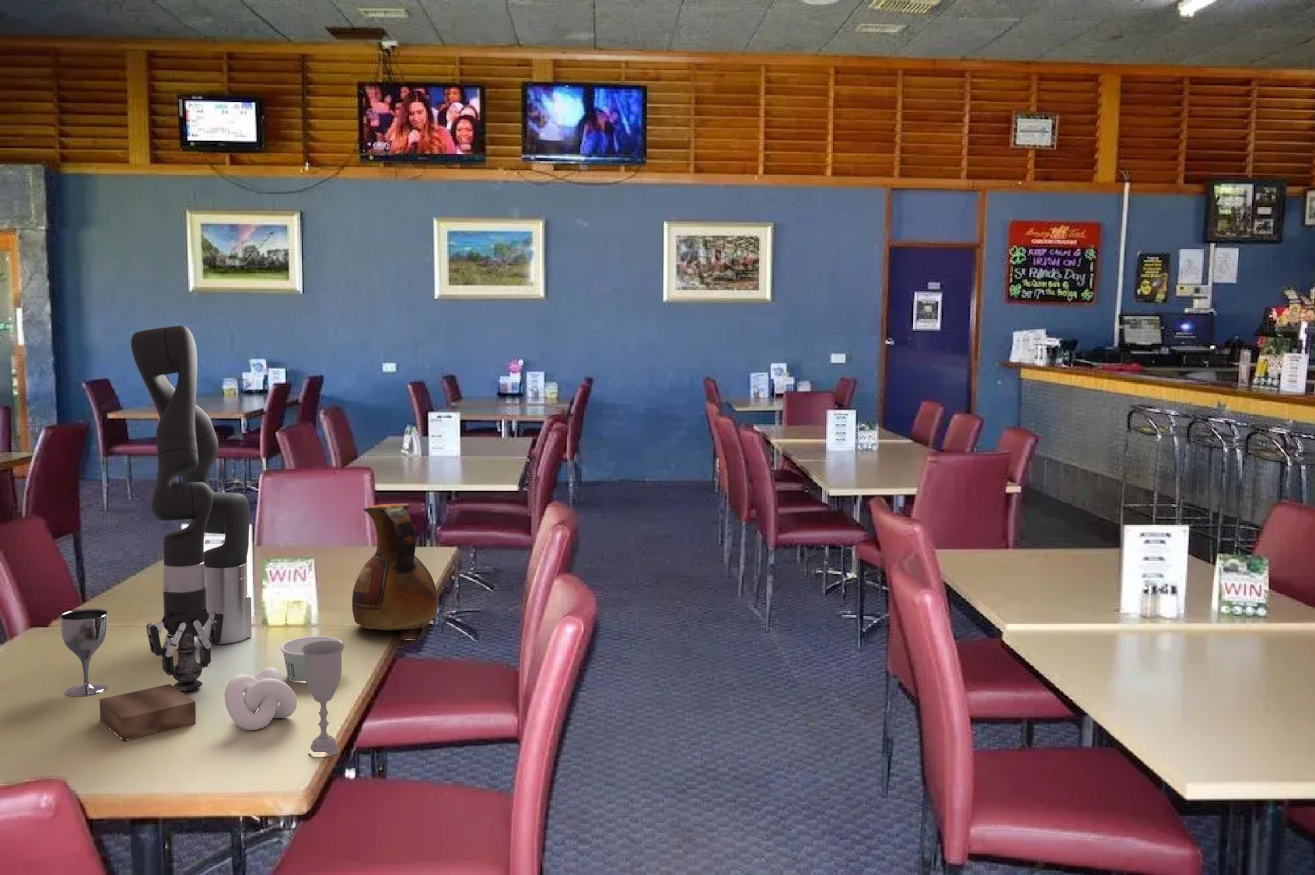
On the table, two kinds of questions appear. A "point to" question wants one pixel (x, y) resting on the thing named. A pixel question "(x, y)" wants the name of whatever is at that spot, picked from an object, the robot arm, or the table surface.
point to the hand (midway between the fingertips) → (187, 670)
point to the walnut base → (147, 711)
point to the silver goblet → (84, 643)
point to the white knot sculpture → (259, 699)
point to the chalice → (323, 685)
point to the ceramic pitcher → (394, 576)
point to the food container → (299, 655)
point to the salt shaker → (187, 665)
